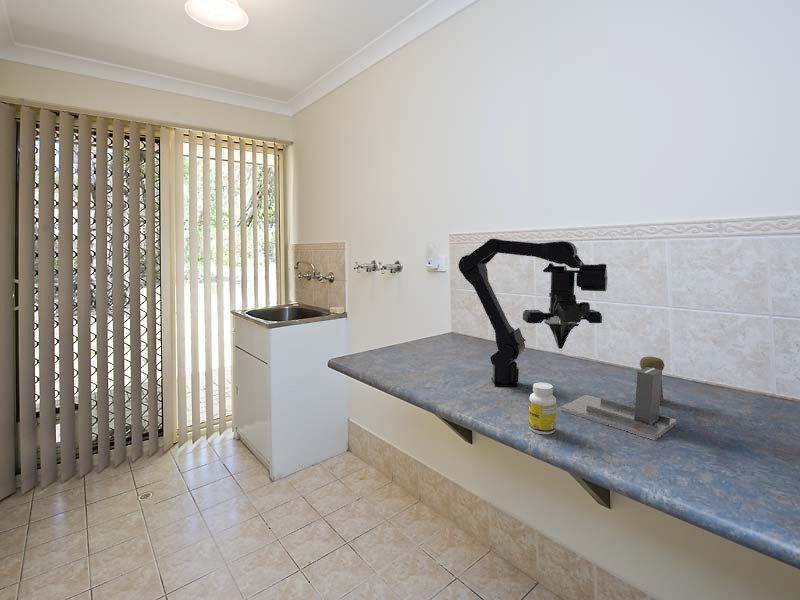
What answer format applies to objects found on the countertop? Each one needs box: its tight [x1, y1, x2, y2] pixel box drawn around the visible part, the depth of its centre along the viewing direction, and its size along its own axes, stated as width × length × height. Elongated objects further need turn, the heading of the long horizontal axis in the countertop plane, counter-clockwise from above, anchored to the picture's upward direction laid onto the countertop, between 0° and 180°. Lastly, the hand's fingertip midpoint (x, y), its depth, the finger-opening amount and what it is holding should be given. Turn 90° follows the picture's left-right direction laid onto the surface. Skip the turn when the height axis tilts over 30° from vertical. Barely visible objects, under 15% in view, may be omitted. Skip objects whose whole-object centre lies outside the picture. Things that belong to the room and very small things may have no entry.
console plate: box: [560, 394, 677, 441], centre depth 92 cm, size 20×12×2 cm, turn 39°
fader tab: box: [634, 367, 663, 424], centre depth 86 cm, size 3×5×11 cm, turn 129°
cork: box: [639, 356, 665, 405], centre depth 101 cm, size 6×6×11 cm
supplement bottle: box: [528, 382, 557, 435], centre depth 85 cm, size 5×5×10 cm
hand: (560, 348), depth 107 cm, fingers closed
